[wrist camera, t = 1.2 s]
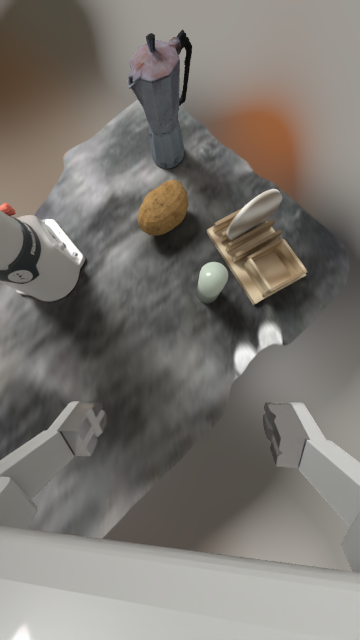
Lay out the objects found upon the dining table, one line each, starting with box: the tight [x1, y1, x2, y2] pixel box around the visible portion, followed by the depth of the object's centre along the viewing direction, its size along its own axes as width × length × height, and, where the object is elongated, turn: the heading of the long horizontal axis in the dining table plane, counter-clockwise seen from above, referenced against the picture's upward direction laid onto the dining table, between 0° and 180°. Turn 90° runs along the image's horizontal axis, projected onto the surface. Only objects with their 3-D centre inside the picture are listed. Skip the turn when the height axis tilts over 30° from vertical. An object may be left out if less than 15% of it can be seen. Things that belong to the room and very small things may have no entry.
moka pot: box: [127, 30, 192, 169], centre depth 40 cm, size 10×15×20 cm, turn 134°
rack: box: [207, 189, 308, 305], centre depth 38 cm, size 22×14×13 cm, turn 29°
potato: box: [138, 180, 188, 235], centre depth 43 cm, size 10×14×8 cm
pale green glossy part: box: [197, 262, 228, 303], centre depth 38 cm, size 5×5×11 cm
